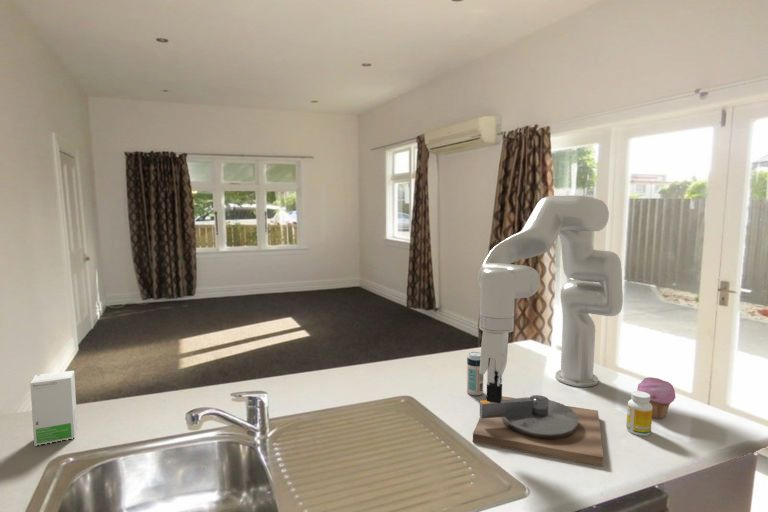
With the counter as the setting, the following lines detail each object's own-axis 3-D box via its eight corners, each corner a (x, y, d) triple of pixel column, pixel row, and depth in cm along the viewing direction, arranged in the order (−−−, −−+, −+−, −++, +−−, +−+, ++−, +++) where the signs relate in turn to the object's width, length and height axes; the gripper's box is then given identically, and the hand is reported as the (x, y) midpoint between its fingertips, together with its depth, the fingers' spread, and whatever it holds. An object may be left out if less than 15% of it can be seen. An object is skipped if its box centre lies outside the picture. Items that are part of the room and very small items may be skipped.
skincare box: (33, 447, 108) (27, 383, 106) (39, 435, 114) (33, 374, 112) (76, 438, 112) (70, 377, 110) (79, 427, 118) (74, 368, 116)
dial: (554, 402, 125) (555, 382, 124) (593, 435, 107) (594, 411, 106) (469, 408, 122) (469, 387, 121) (494, 443, 104) (494, 419, 103)
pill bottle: (482, 390, 139) (482, 351, 138) (484, 396, 134) (484, 357, 133) (466, 389, 140) (466, 351, 138) (467, 396, 135) (467, 356, 133)
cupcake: (635, 405, 128) (637, 370, 127) (672, 412, 124) (675, 376, 123) (635, 418, 120) (638, 382, 119) (675, 426, 116) (677, 388, 115)
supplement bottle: (621, 428, 115) (623, 391, 114) (635, 424, 117) (637, 388, 116) (641, 438, 110) (643, 400, 109) (655, 433, 113) (658, 396, 111)
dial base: (489, 401, 131) (489, 393, 131) (597, 417, 121) (598, 409, 121) (472, 441, 109) (472, 433, 109) (602, 466, 99) (603, 456, 99)
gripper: (485, 314, 112) (483, 387, 114) (473, 329, 98) (471, 411, 100) (517, 317, 109) (514, 391, 111) (509, 332, 96) (506, 417, 98)
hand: (494, 400), depth 106 cm, fingers closed
